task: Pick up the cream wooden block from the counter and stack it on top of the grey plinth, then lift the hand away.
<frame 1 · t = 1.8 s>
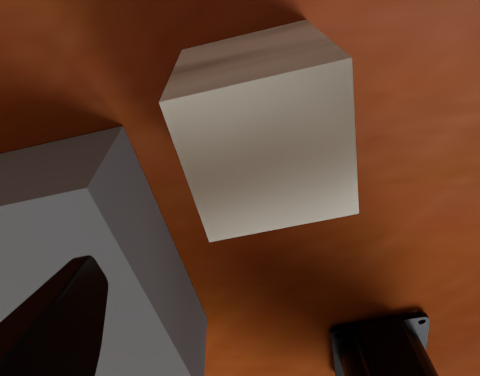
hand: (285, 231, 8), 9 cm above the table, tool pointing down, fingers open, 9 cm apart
cream block: (255, 95, 15), on the table
plinth: (55, 263, 20), on the table
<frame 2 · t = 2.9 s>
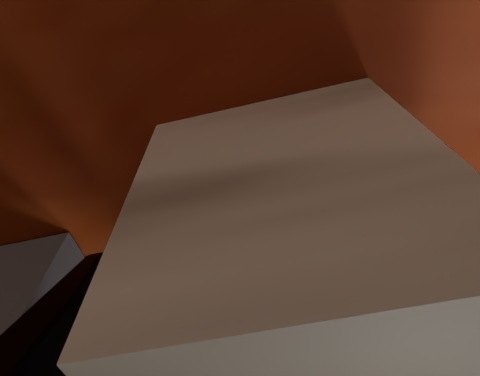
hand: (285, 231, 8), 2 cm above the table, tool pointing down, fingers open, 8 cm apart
cream block: (276, 188, 10), on the table
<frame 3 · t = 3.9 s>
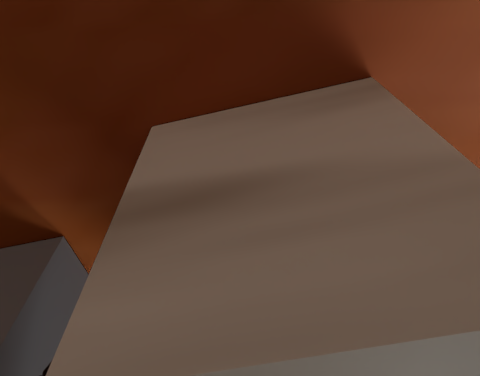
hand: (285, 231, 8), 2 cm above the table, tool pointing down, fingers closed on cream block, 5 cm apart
cream block: (276, 192, 9), on the table, touching gripper
when the fingers open (8 cm above the table, at t = 8.2 s): cream block drops 1 cm, resting on plinth.
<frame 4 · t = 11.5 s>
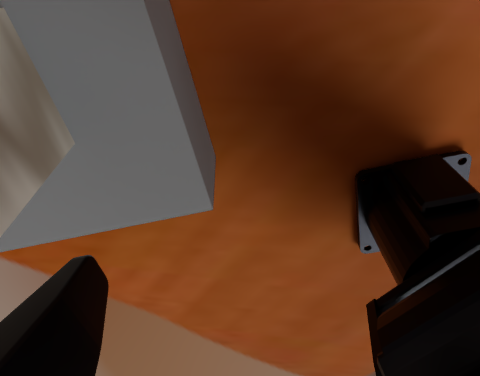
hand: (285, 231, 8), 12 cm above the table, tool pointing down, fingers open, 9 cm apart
plinth: (39, 63, 17), on the table
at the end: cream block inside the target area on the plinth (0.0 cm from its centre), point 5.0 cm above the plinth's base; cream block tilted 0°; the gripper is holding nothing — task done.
